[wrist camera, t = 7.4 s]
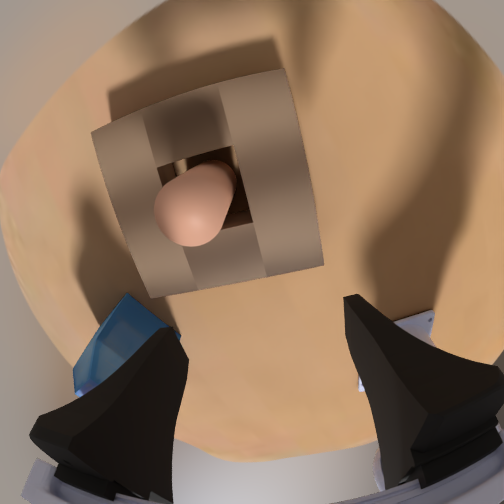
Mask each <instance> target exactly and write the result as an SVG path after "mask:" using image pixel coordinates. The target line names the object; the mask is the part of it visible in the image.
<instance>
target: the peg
mask: <svg viewBox="0 0 504 504" xmlns="http://www.w3.org/2000/svg"><path fill="white" fill-rule="evenodd" d="M236 186H237V180H236V176H235V173H234V171H233V170H232V169H231V167H230V166H228V165H227V164H226V163H224V162H222V161H219V160H207V161H204V162H202V163H200V164H199V165H197V166H195V167H193V168H192V169H190V170H188V171H186V172H185V173H183V174H181V175H180V176H178V177H176V178H175V179H173V180H171V181H170V182H168V183H167V184H165V185H164V186H163V187H162V188H161V190H160V191H159V193H158V195H157V197H156V200H155V204H154V215H155V220H156V223H157V225H158V227H159V229H160V230H161V232H162V233H163V234H164V235H165V236H166V237H167V238H168V239H170V240H171V241H173V242H174V243H177V244H179V245H182V246H190V247H193V246H200V245H203V244H205V243H207V242H209V241H211V240H212V239H213V238H214V237H215V236H216V235H217V234H218V233H219V231H220V230H221V227H222V225H223V222H224V220H225V217H226V214H227V212H228V209H229V206H230V204H231V201H232V199H233V196H234V193H235V191H236Z"/></svg>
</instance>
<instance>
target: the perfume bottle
mask: <svg viewBox="0 0 504 504" xmlns="http://www.w3.org/2000/svg"><path fill="white" fill-rule="evenodd" d="M164 327H169V326H168V325H166V324H165V323H164V322H163V321H161V320H160V319H159V318H157V317H156V316H155V315H154V314H152V313H151V312H150V311H149V310H147V309H146V308H145V307H144V306H143V305H141V304H140V303H139V302H138V301H136V300H135V299H134V298H133V297H132V296H131V295H129V294H128V293H126V295H125V296H124V297H123V298H122V300H121V301H120V302H119V303H118V304H117V306H116V307H115V308H114V309H113V311H112V312H111V313H110V314H109V316H108V317H107V318H106V319H105V321H104V322H103V323H102V325H101V326H100V327H99V329H98V330H97V332H96V333H95V335H94V336H93V338H92V339H91V341H90V342H89V344H88V346H87V347H86V349H85V350H84V352H83V353H82V355H81V357H80V358H79V360H78V361H77V363H76V365H75V366H74V368H73V378H74V389H75V394H76V395H77V396H79V397H81V396H83V395H84V394H86V393H87V392H89V391H90V390H92V389H93V388H95V387H96V386H98V385H99V384H100V383H102V382H103V381H104V380H106V379H107V378H108V377H109V376H110V375H112V374H113V373H114V372H115V371H116V370H117V369H118V368H119V367H120V366H121V365H122V364H124V363H125V362H126V361H127V360H128V359H129V358H130V357H131V356H132V355H133V354H134V353H135V352H136V351H137V350H138V349H139V348H140V347H141V346H142V345H143V344H144V343H145V342H146V341H147V340H148V339H149V338H150V337H151V336H152V335H153V334H154V333H155V332H156V331H157V330H158V329H159V328H164ZM175 333H176V335H177V337H178V339H179V341H180V338H181V335H180V334H178V333H177V332H176V331H175Z"/></svg>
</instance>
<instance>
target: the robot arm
mask: <svg viewBox="0 0 504 504" xmlns="http://www.w3.org/2000/svg"><path fill="white" fill-rule="evenodd" d="M343 299H344V316H345V335H346V339H347V343H348V347H349V350H350V354H351V357H352V359H353V362H354V364H355V367H356V369H357V372H358V374H359V381H358V389H359V391H360V392H362V391H365V392H366V395H367V397H368V400H369V403H370V407H371V411H372V415H373V419H374V423H375V428H376V433H377V438H378V443H379V448H378V450H377V451H376V454H375V458H374V463H373V473H374V478H375V481H376V484H377V486H378V488H379V490H380V491H381V492H378V493H374V494H370V495H367V496H363V497H359V498H355V499H351V500H346V501H341V502H337V503H331V504H499V503H500V502H502V501H503V500H504V428H503V429H501V427H500V425H499V423H498V420H497V418H496V416H495V415H496V414H497V412H498V411H499V409H500V408H501V407H502V405H503V404H504V374H503V373H502V372H501V370H500V369H499V368H498V366H493V365H489V364H484V363H479V362H475V361H471V360H468V359H465V358H461V357H458V356H456V355H453V354H450V353H448V352H445V351H443V350H441V349H438V348H436V346H435V344H434V343H433V341H432V340H431V338H430V336H431V331H432V326H433V321H434V315H435V313H434V311H433V310H429V311H426V312H423V313H420V314H417V315H414V316H411V317H407V318H404V319H401V320H398V321H394V322H392V321H391V320H390V319H388V318H387V317H386V316H384V315H383V314H382V313H381V312H379V311H378V310H377V309H376V308H374V307H373V306H372V305H371V304H370V303H368V302H367V301H366V300H365V299H364V298H363V297H361V296H360V295H359V294H355V295H350V296H346V297H343ZM188 364H189V359H188V357H187V355H186V353H185V351H184V349H183V347H182V345H181V343H180V341H179V339H178V337H177V335H176V333H175V331H174V329H173V327H164V328H159V329H158V330H157V331H156V332H155V333H154V334H153V335H152V336H151V337H150V338H149V339H148V340H147V341H146V342H145V343H144V344H143V345H142V346H141V347H140V348H139V349H138V350H137V351H136V352H135V353H134V354H133V355H132V356H131V357H130V358H129V359H128V360H127V361H126V362H125V363H124V364H122V365H121V366H120V367H119V368H118V369H117V370H116V371H115V372H114V373H113V374H112V375H110V376H109V377H108V378H107V379H106V380H104V381H103V382H102V383H100V384H99V385H98V386H96V387H95V388H93V389H92V390H90V391H89V392H87V393H86V394H84V395H83V396H81V397H80V398H78V399H76V400H74V401H73V402H71V403H69V404H67V405H65V406H63V407H60V408H58V409H56V410H53V411H51V412H48V413H46V414H43V415H40V416H39V418H38V419H37V421H36V423H35V424H34V426H33V428H32V430H31V432H30V434H29V436H30V439H31V440H32V441H33V442H34V443H35V444H36V445H37V446H38V447H39V448H40V449H41V450H42V451H44V452H45V453H46V454H47V455H49V456H50V457H51V458H52V459H54V460H55V461H56V462H58V463H59V464H58V466H57V468H56V467H55V466H53V465H51V464H49V463H47V462H45V461H43V460H41V459H39V458H36V460H35V462H34V465H33V467H32V469H31V471H30V474H29V476H28V479H27V481H26V483H25V486H24V489H23V491H22V494H21V496H22V497H23V498H24V499H26V500H27V501H29V502H30V503H31V504H173V493H172V452H173V441H174V432H175V425H176V420H177V416H178V412H179V408H180V405H181V401H182V397H183V393H184V389H185V385H186V381H187V374H188Z"/></svg>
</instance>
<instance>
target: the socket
mask: <svg viewBox="0 0 504 504" xmlns="http://www.w3.org/2000/svg"><path fill="white" fill-rule="evenodd" d="M91 136H92V139H93V143H94V147H95V151H96V154H97V158H98V161H99V165H100V168H101V171H102V175H103V178H104V181H105V184H106V187H107V190H108V194H109V197H110V199H111V202H112V205H113V208H114V211H115V214H116V217H117V219H118V222H119V225H120V227H121V230H122V233H123V235H124V238H125V240H126V243H127V245H128V248H129V250H130V253H131V255H132V258H133V260H134V262H135V265H136V267H137V269H138V272H139V274H140V276H141V279H142V281H143V283H144V285H145V287H146V290H147V292H148V294H149V296H150V298H151V299H152V298H158V297H163V296H169V295H175V294H181V293H186V292H192V291H197V290H203V289H208V288H214V287H219V286H224V285H230V284H235V283H240V282H245V281H250V280H255V279H260V278H265V277H270V276H275V275H280V274H285V273H290V272H295V271H300V270H304V269H309V268H314V267H318V266H323V265H324V259H323V252H322V245H321V238H320V232H319V226H318V219H317V213H316V208H315V202H314V196H313V191H312V185H311V180H310V175H309V170H308V165H307V160H306V155H305V150H304V146H303V141H302V137H301V132H300V128H299V124H298V119H297V115H296V111H295V107H294V103H293V99H292V95H291V91H290V87H289V84H288V80H287V76H286V73H285V69H284V68H283V69H277V70H271V71H266V72H261V73H256V74H251V75H247V76H243V77H238V78H234V79H230V80H226V81H222V82H219V83H215V84H212V85H208V86H205V87H201V88H198V89H195V90H192V91H189V92H186V93H183V94H180V95H177V96H174V97H171V98H168V99H165V100H163V101H160V102H157V103H155V104H152V105H150V106H147V107H145V108H142V109H140V110H137V111H135V112H133V113H130V114H128V115H126V116H124V117H121V118H119V119H117V120H115V121H113V122H111V123H109V124H107V125H105V126H102V127H100V128H98V129H97V130H95V131H93V132H91ZM231 145H234V149H235V153H236V157H237V161H238V165H239V168H240V172H241V176H242V180H243V184H244V188H245V192H246V196H247V200H248V204H249V208H250V210H246V211H241V212H237V213H233V214H228V215H226V217H225V220H224V222H223V225H222V227H221V230H220V231H219V233H218V234H217V235H216V236H215V237H214V238H213V239H212V240H211V241H209V242H207V243H205V244H203V245H200V246H193V247H190V246H182V245H179V244H177V243H174V242H173V241H171V240H170V239H168V238H167V237H166V236H165V235H164V234H163V233H162V232H161V230H160V229H159V227H158V225H157V223H156V220H155V215H154V204H155V200H156V197H157V195H158V193H159V191H160V190H161V188H162V187H163V186H164V185H165V184H167V183H168V182H170V181H171V180H173V179H175V178H176V175H175V171H174V168H173V165H172V162H175V161H178V160H182V159H185V158H188V157H192V156H195V155H198V154H202V153H205V152H209V151H213V150H216V149H220V148H224V147H228V146H231Z"/></svg>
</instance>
